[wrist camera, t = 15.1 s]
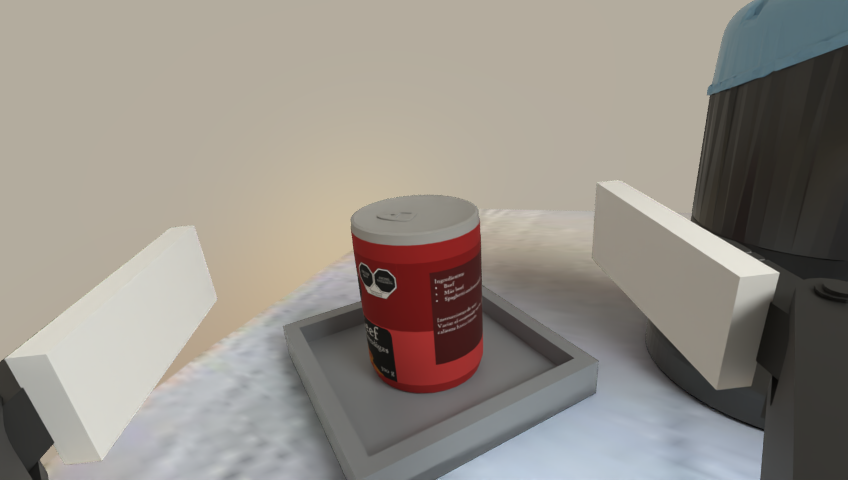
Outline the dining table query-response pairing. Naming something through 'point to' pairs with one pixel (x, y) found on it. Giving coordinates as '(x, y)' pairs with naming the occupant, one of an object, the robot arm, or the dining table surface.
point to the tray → (434, 412)
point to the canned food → (421, 289)
